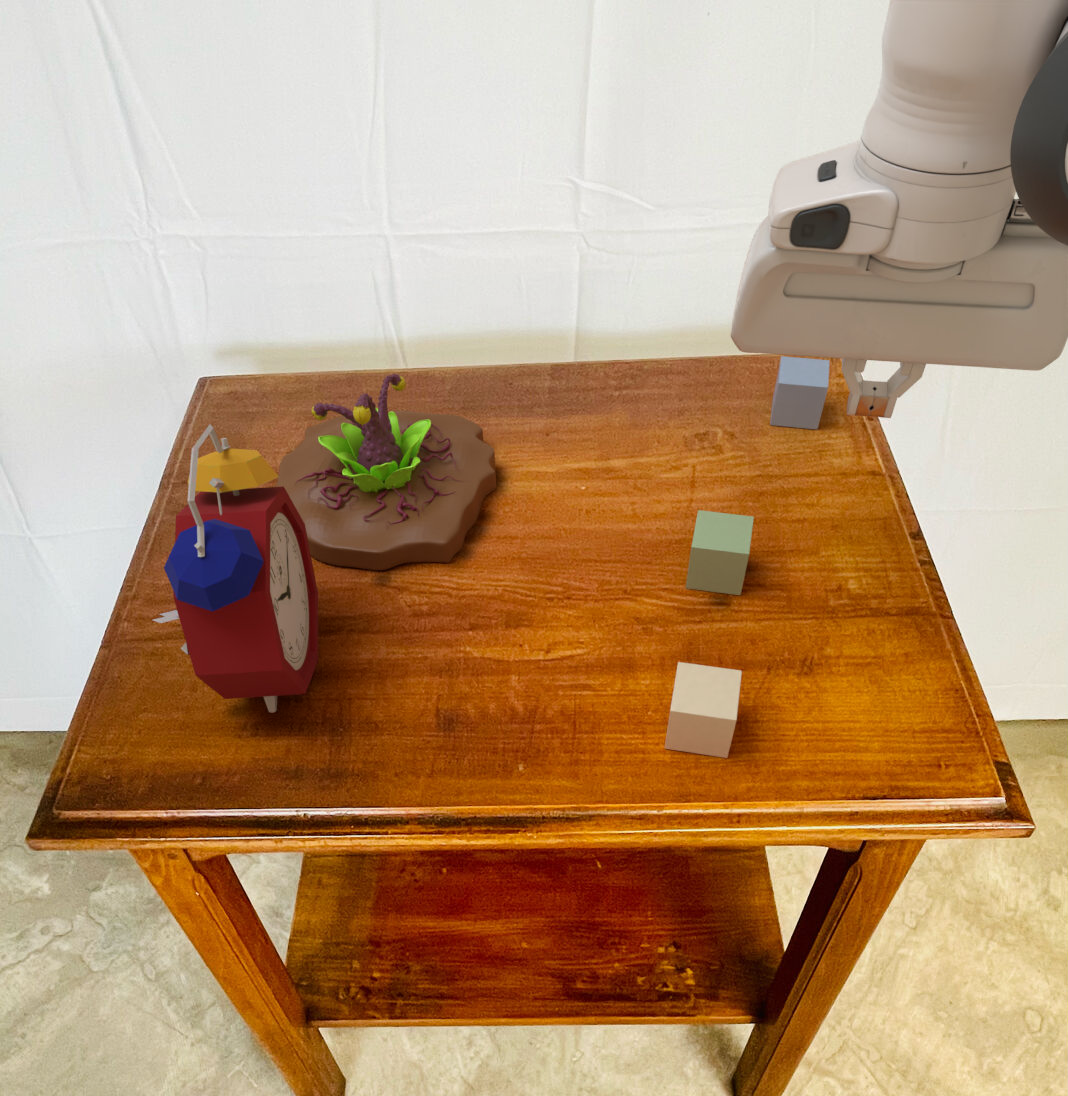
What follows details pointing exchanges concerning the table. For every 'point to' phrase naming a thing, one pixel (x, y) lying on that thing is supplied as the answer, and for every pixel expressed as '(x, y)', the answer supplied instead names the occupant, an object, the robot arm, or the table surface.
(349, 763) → the table surface
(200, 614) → the alarm clock
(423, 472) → the plant
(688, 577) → the sage block
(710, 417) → the table surface
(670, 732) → the cream block
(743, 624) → the table surface
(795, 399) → the blue-grey block
